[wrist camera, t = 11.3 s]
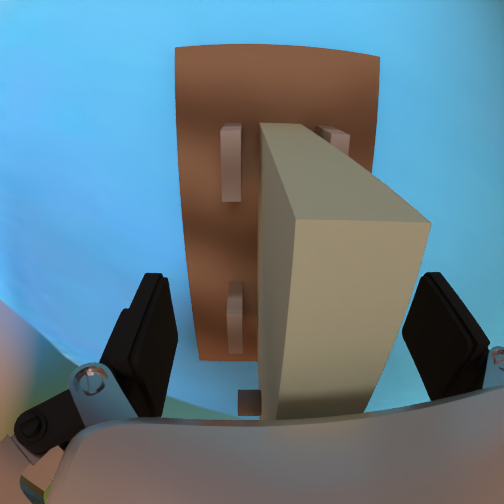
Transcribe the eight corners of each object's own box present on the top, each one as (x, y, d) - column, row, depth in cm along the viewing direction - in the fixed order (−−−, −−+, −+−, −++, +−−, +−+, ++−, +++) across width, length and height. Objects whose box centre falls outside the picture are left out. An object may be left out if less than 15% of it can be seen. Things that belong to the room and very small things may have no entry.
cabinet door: (238, 122, 14) (215, 218, 4) (300, 123, 15) (431, 223, 4) (240, 319, 20) (238, 504, 10) (287, 319, 20) (312, 500, 10)
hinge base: (179, 50, 14) (158, 38, 10) (371, 58, 14) (406, 52, 10) (201, 348, 23) (195, 392, 20) (332, 346, 23) (344, 388, 20)
